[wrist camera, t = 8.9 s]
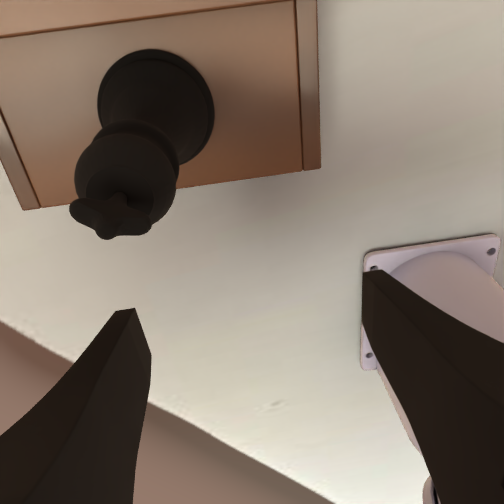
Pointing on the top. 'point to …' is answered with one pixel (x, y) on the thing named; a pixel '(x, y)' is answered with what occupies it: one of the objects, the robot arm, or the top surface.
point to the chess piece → (141, 142)
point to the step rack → (170, 40)
